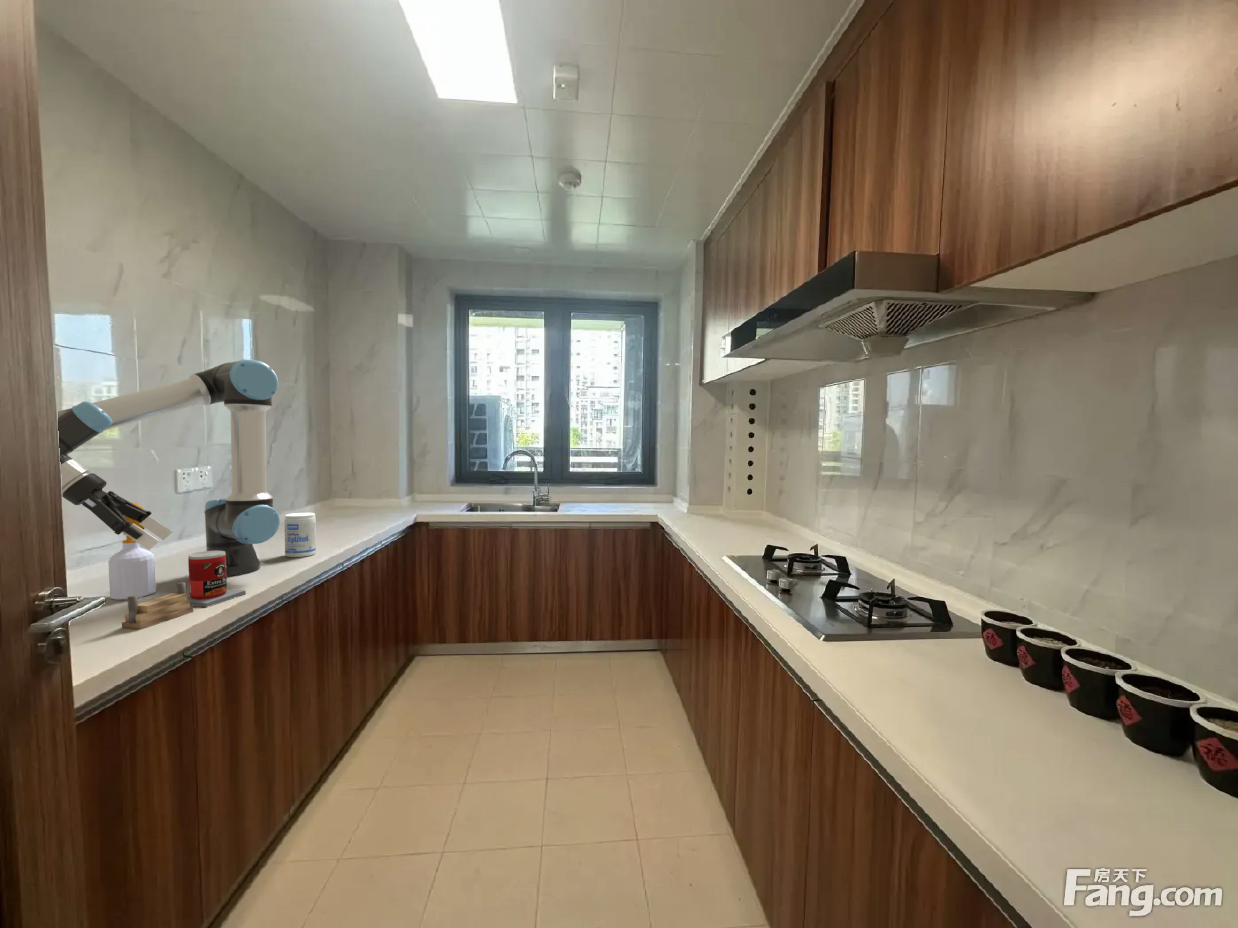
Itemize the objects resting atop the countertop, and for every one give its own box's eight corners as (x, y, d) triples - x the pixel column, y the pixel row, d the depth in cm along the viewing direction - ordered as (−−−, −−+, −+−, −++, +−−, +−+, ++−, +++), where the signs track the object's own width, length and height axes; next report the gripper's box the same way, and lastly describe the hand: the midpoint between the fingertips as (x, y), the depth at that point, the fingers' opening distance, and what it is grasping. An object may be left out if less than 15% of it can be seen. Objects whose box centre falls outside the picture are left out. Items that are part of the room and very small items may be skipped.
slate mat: (211, 591, 145) (211, 588, 145) (245, 594, 143) (245, 590, 143) (170, 604, 134) (170, 600, 134) (207, 606, 132) (206, 603, 132)
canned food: (207, 600, 134) (205, 557, 133) (181, 598, 135) (179, 556, 135) (234, 591, 141) (233, 551, 141) (210, 590, 143) (208, 549, 142)
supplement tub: (286, 559, 183) (284, 517, 182) (284, 554, 191) (282, 513, 190) (318, 555, 188) (316, 514, 188) (315, 550, 196) (313, 511, 195)
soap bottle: (145, 588, 148) (141, 500, 146) (162, 592, 144) (158, 502, 142) (103, 597, 140) (98, 504, 138) (120, 602, 136) (115, 506, 134)
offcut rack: (177, 610, 130) (175, 581, 129) (194, 611, 129) (192, 582, 128) (120, 628, 118) (119, 596, 117) (139, 629, 117) (137, 598, 116)
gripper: (81, 490, 134) (161, 543, 143) (36, 501, 113) (133, 562, 121) (108, 468, 137) (185, 521, 145) (69, 475, 115) (162, 537, 123)
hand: (161, 540), depth 133 cm, fingers open, 13 cm apart
